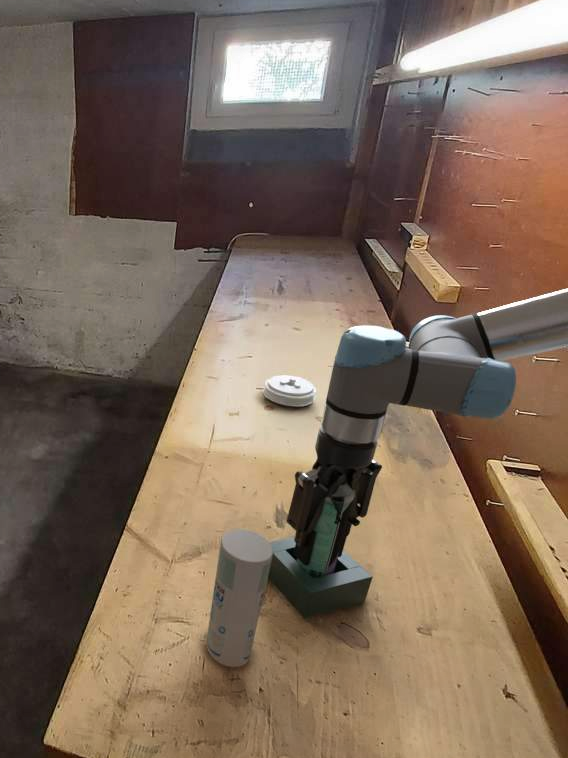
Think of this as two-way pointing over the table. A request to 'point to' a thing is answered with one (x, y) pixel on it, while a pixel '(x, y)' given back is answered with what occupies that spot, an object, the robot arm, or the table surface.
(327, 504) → the spray can
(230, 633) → the spray can
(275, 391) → the lid
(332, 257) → the table surface
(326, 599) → the holder
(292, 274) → the table surface
